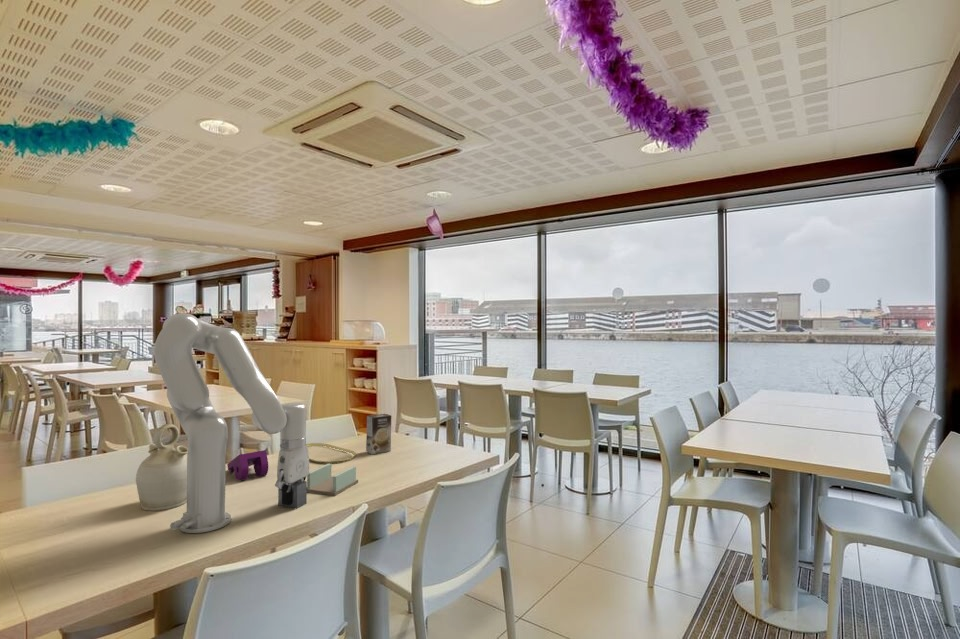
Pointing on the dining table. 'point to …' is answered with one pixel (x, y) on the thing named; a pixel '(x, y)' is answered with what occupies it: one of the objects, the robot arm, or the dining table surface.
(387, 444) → the coffee box
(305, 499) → the tall grey upright block
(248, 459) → the mounting bracket
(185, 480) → the jug
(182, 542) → the dining table surface
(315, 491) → the post slot
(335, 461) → the gold oval ring
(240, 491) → the dining table surface
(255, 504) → the dining table surface
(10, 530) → the dining table surface
